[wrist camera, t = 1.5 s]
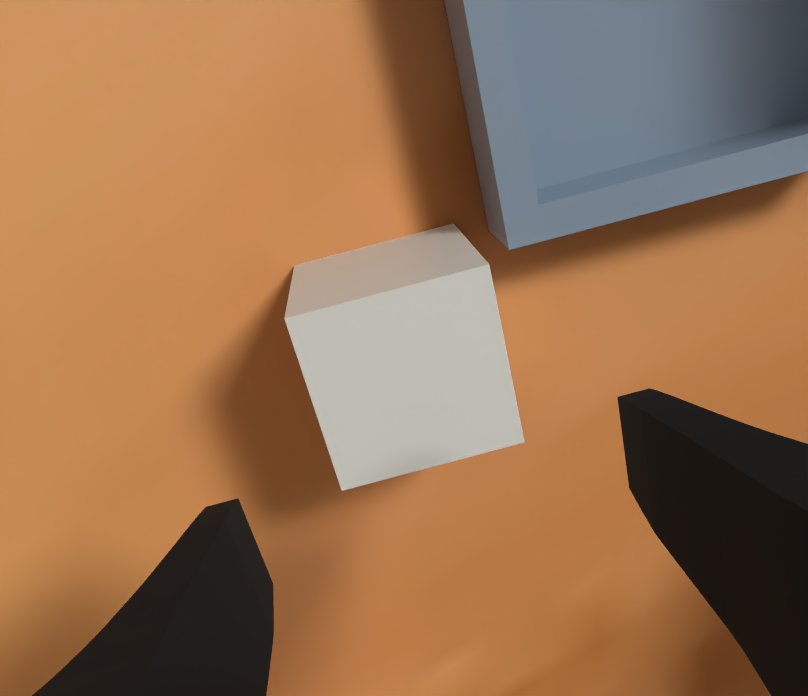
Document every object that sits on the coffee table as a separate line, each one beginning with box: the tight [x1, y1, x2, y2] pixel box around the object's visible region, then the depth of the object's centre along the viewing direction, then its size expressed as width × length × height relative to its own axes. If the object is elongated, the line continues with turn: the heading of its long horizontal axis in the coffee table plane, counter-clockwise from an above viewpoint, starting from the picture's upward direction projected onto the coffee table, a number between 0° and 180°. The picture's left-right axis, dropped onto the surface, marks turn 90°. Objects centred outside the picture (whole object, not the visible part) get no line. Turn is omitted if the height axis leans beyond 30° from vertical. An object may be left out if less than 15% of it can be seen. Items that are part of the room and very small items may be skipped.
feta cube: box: [284, 223, 524, 491], centre depth 19 cm, size 5×5×5 cm
